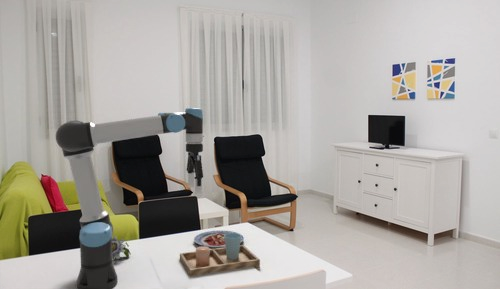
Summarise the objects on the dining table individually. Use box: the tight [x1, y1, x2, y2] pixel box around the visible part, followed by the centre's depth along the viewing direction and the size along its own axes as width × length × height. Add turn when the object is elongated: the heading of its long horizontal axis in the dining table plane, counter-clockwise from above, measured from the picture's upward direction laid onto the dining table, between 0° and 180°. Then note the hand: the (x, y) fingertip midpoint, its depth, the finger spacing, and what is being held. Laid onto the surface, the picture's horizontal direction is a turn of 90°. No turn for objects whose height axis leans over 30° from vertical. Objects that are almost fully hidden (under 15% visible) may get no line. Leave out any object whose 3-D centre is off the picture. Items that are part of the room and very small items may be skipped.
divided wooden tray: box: [179, 244, 261, 277], centre depth 182 cm, size 31×20×4 cm, turn 112°
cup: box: [224, 232, 242, 260], centre depth 187 cm, size 8×8×10 cm
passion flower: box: [112, 235, 132, 262], centre depth 188 cm, size 11×11×12 cm
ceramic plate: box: [193, 230, 245, 248], centre depth 212 cm, size 26×26×3 cm
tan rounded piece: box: [195, 245, 211, 267], centre depth 179 cm, size 6×6×7 cm
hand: (194, 190), depth 182 cm, fingers open, 13 cm apart
